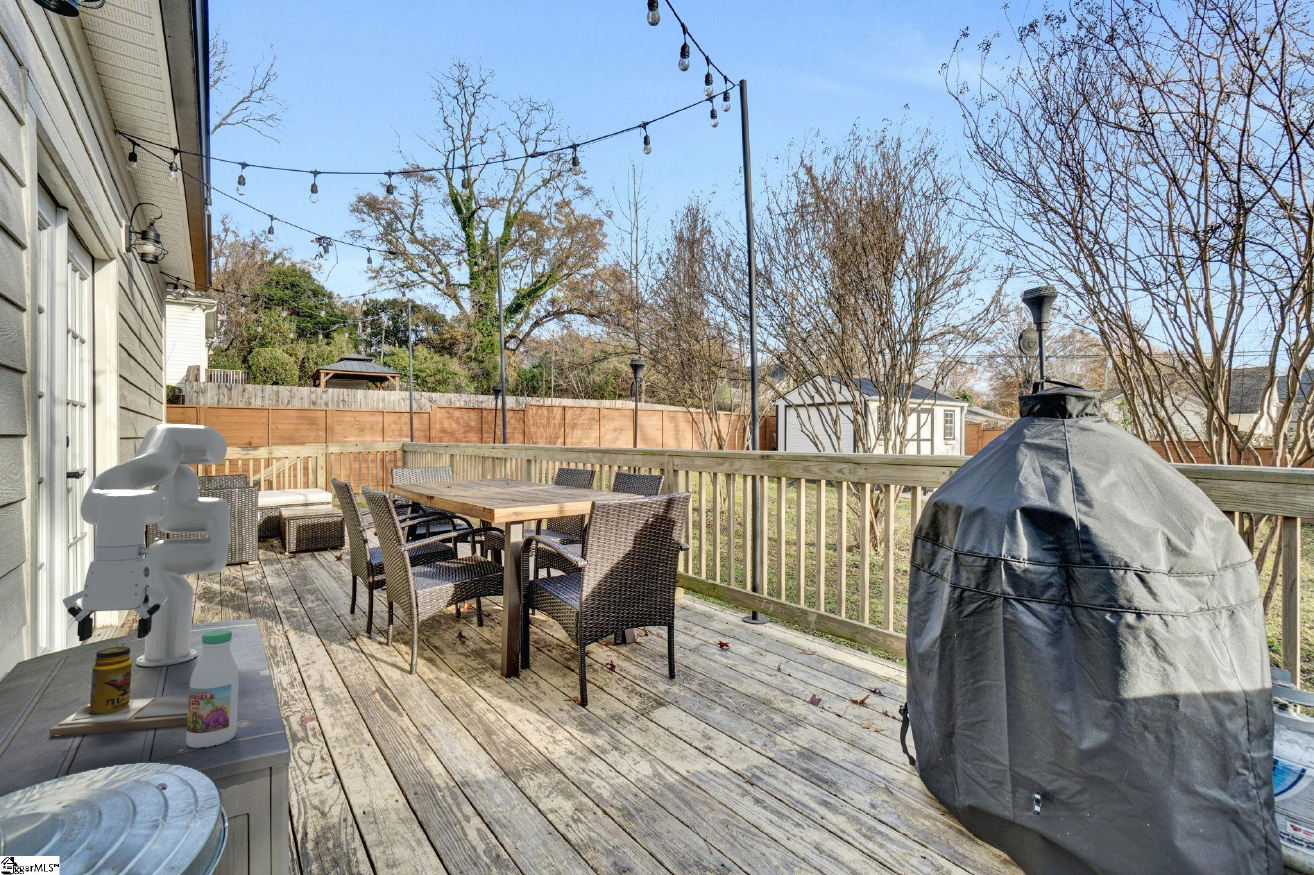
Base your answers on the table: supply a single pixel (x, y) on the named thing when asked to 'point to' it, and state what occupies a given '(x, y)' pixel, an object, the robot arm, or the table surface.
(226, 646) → the milk bottle
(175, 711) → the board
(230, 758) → the table surface
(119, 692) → the condiment
